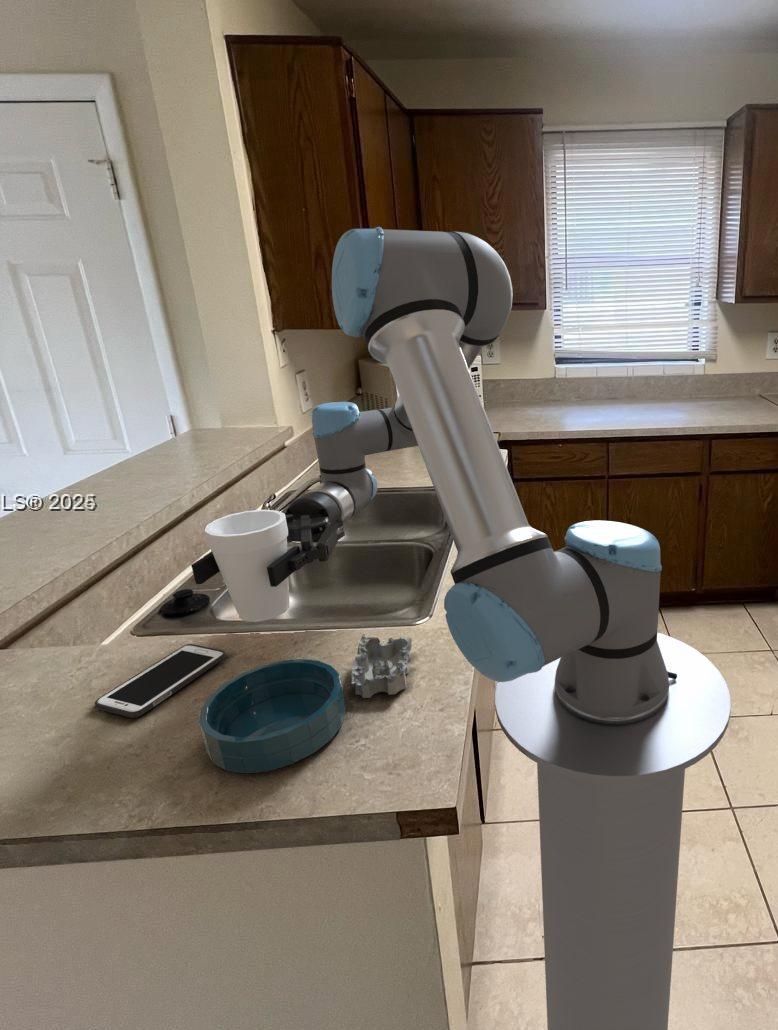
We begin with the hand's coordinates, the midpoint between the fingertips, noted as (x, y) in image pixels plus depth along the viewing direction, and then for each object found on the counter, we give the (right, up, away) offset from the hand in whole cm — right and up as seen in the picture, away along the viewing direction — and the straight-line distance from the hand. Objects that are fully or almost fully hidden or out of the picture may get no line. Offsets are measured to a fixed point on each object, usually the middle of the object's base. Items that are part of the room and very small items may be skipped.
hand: (233, 575), depth 77 cm
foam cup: (+1, -6, +7) cm, 9 cm away
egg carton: (+16, -15, +10) cm, 24 cm away
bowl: (+6, -19, -1) cm, 20 cm away
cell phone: (-14, -16, +8) cm, 23 cm away
